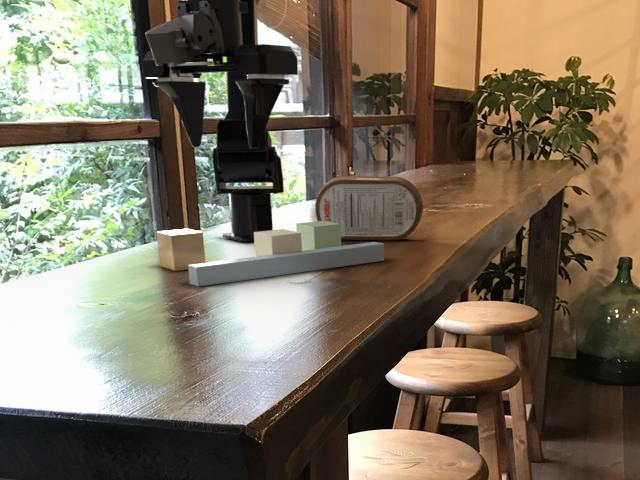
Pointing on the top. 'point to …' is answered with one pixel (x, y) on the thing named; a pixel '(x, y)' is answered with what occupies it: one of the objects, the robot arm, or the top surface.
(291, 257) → the straightedge
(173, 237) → the maple block
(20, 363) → the top surface
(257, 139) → the robot arm
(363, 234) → the tin
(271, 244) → the cream block
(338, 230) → the sage block
